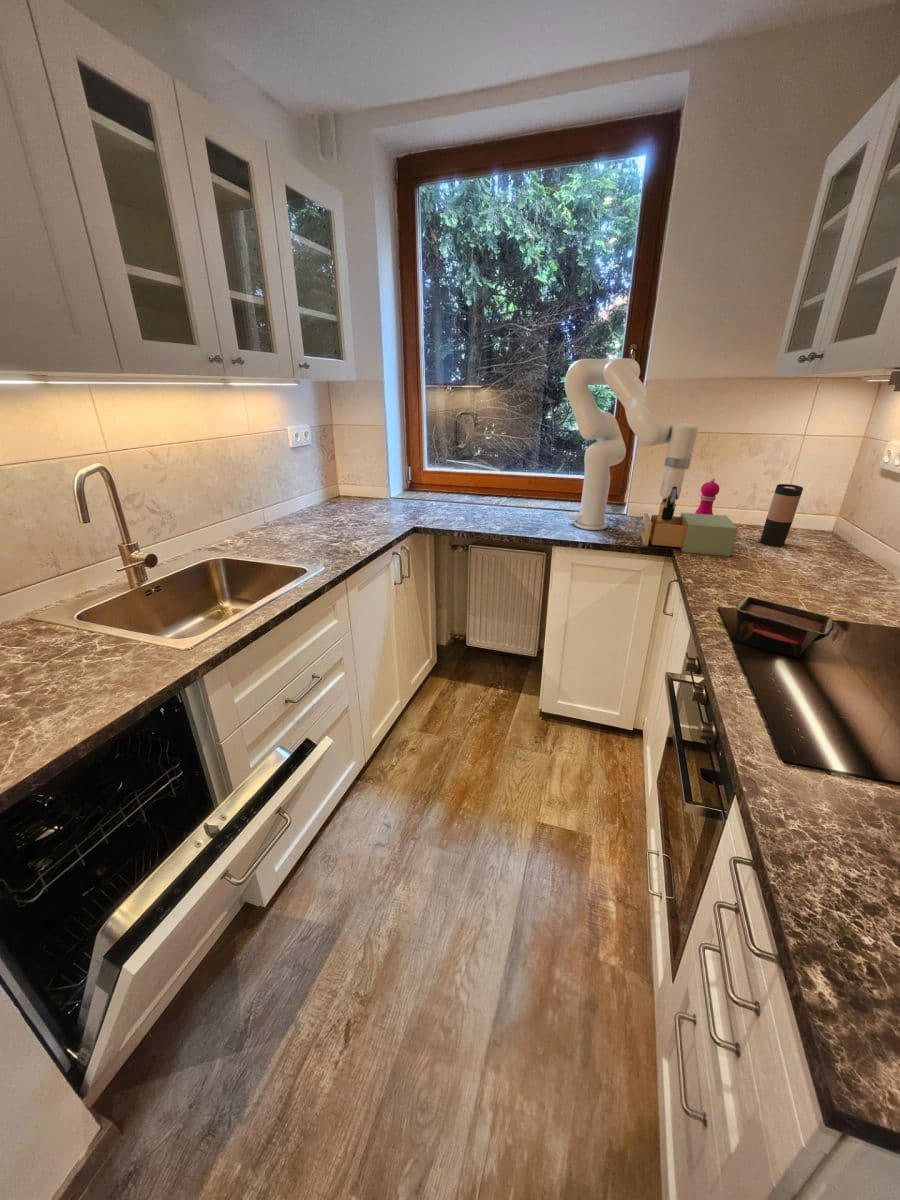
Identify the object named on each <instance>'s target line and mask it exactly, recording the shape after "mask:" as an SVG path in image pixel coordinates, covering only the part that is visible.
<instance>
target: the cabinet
mask: <svg viewBox="0 0 900 1200" xmlns="http://www.w3.org/2000/svg"><path fill="white" fill-rule="evenodd" d="M679 517H682V518H683V519H684V521H685V523H686V524H687V526H688V527H687V531H686V535H685V540H684V544H683V547H679V548H680V551H681V552H682V553H689V554H702V555H713V556H722V557H723V556H724V557H730V556H731V554H732V551H733V548H734V544H735V539H736V536H737V533H738V526H737V525H736V524H735V523H734V522H733V521H732V520H731V519H730V518H729V516H728V515H722V514H713V515H708V514H694V513H693V512H691V513H690V512H680V516H679Z"/></svg>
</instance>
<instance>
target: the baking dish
mask: <svg viewBox="0 0 900 1200" xmlns="http://www.w3.org/2000/svg"><path fill="white" fill-rule="evenodd" d="M736 626H737V627H736V628H737V629H736V630H737V631H736V632H737V633H736V634H737V642H738V643H741V644H745V645H747V646H751V647H754V648H758V649H762V650H765V651H770V652H774V653H777V654H781V655H785V656H788V657H793V658H797V659H801V658H802V653H803V652H804V651H805V650H806V649H807V648H808V647H809V646H810V645H811V644H812V643H815V642H817V641H820V640H823V639H824V638H826V637H828V636H829V635H830V634H831V633H832V631H833V630H834V627H835V623H834V619H833V617H831V615H827V614H822V613H819V612H814V611H810V610H807V609H802V608H800V607H799V608H798V607H794V606H790V605H786V604H782V603H778V602H774V601H770V600H766V599H762V598H758V597H754V596H745V597H743V598H741V599H740V600H739V602H738V603H737V604H736ZM800 656H801V657H800Z"/></svg>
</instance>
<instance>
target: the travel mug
mask: <svg viewBox="0 0 900 1200" xmlns="http://www.w3.org/2000/svg"><path fill="white" fill-rule="evenodd" d="M803 490H804V487H803V486H800V485H797V484H790V483H789V484H787V483H779V484H778V483H777V485H776V487H775V490H774V493H773V495H772V496H773V497H772V499H771V503H770V505H769V509H768V512H767V515H766V518H765V522H764V526H763V529H762V533H761V537H760V543H761V544H763V545H765V546H766V545H767V546H770V547H783V546H784V545H785V543H786V541H787V538H788V535H789V533H790V529H791V527H792V524H793V522H794V519H795V515H796V512H797V510H798V507H799V503H800V500H801V497H802V494H803V492H804V491H803Z"/></svg>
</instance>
